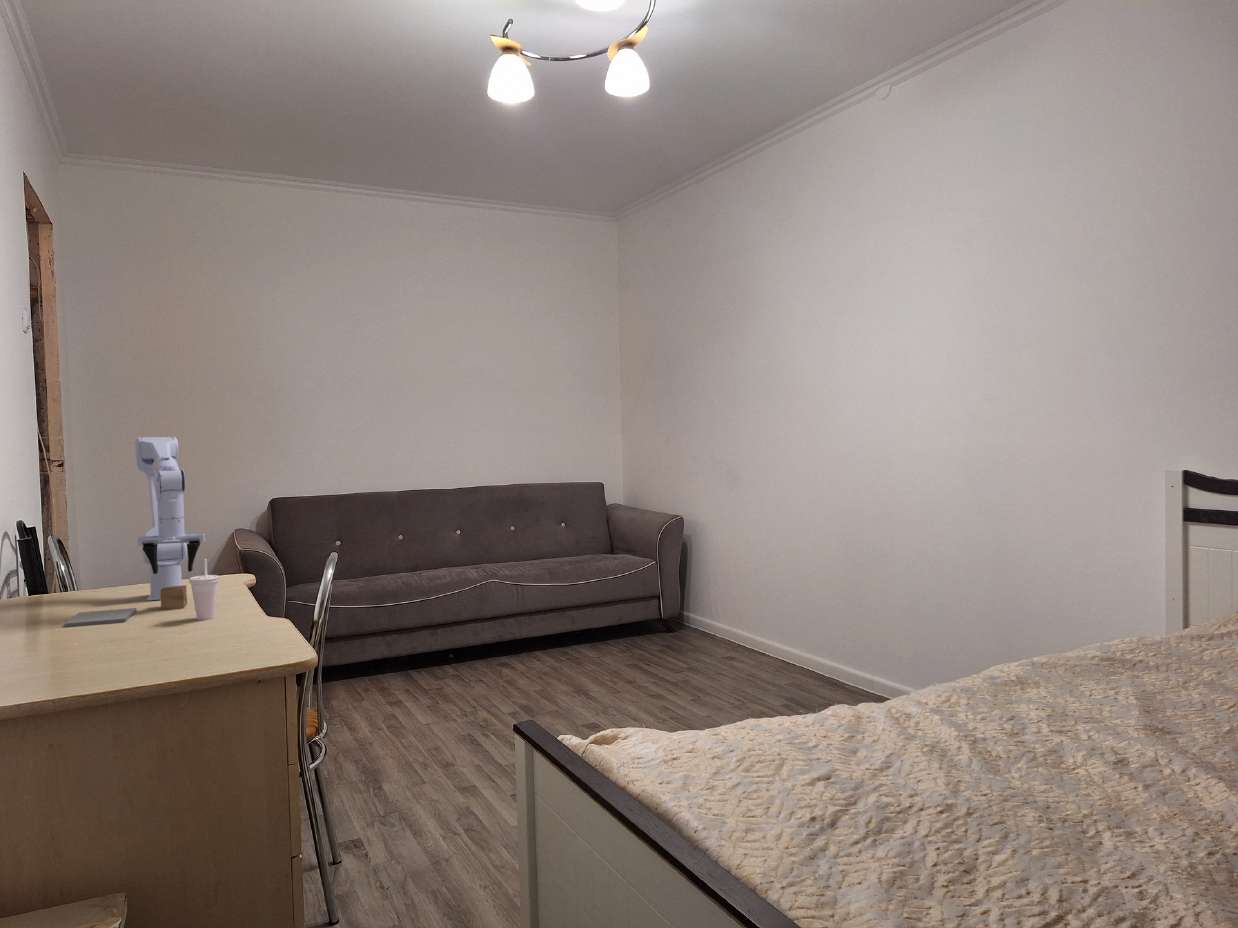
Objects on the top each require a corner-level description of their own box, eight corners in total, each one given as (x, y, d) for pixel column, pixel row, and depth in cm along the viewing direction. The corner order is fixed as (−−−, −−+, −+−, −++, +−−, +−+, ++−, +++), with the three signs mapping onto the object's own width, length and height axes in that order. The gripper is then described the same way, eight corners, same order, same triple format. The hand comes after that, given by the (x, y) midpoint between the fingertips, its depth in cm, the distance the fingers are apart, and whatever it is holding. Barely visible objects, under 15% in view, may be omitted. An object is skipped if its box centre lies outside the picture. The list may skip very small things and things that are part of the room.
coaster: (79, 615, 191) (78, 612, 191) (136, 611, 195) (136, 607, 195) (64, 627, 180) (64, 623, 180) (125, 621, 184) (125, 618, 184)
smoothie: (226, 614, 190) (224, 556, 190) (210, 621, 184) (208, 561, 183) (201, 614, 191) (199, 556, 190) (184, 620, 184) (182, 561, 184)
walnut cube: (164, 606, 201) (164, 586, 201) (187, 604, 203) (186, 585, 203) (161, 610, 196) (160, 590, 196) (183, 608, 198) (183, 588, 198)
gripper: (134, 521, 192) (136, 576, 193) (201, 518, 197) (203, 572, 198) (140, 518, 199) (142, 572, 199) (205, 515, 204) (206, 568, 205)
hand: (173, 572), depth 199 cm, fingers open, 7 cm apart
